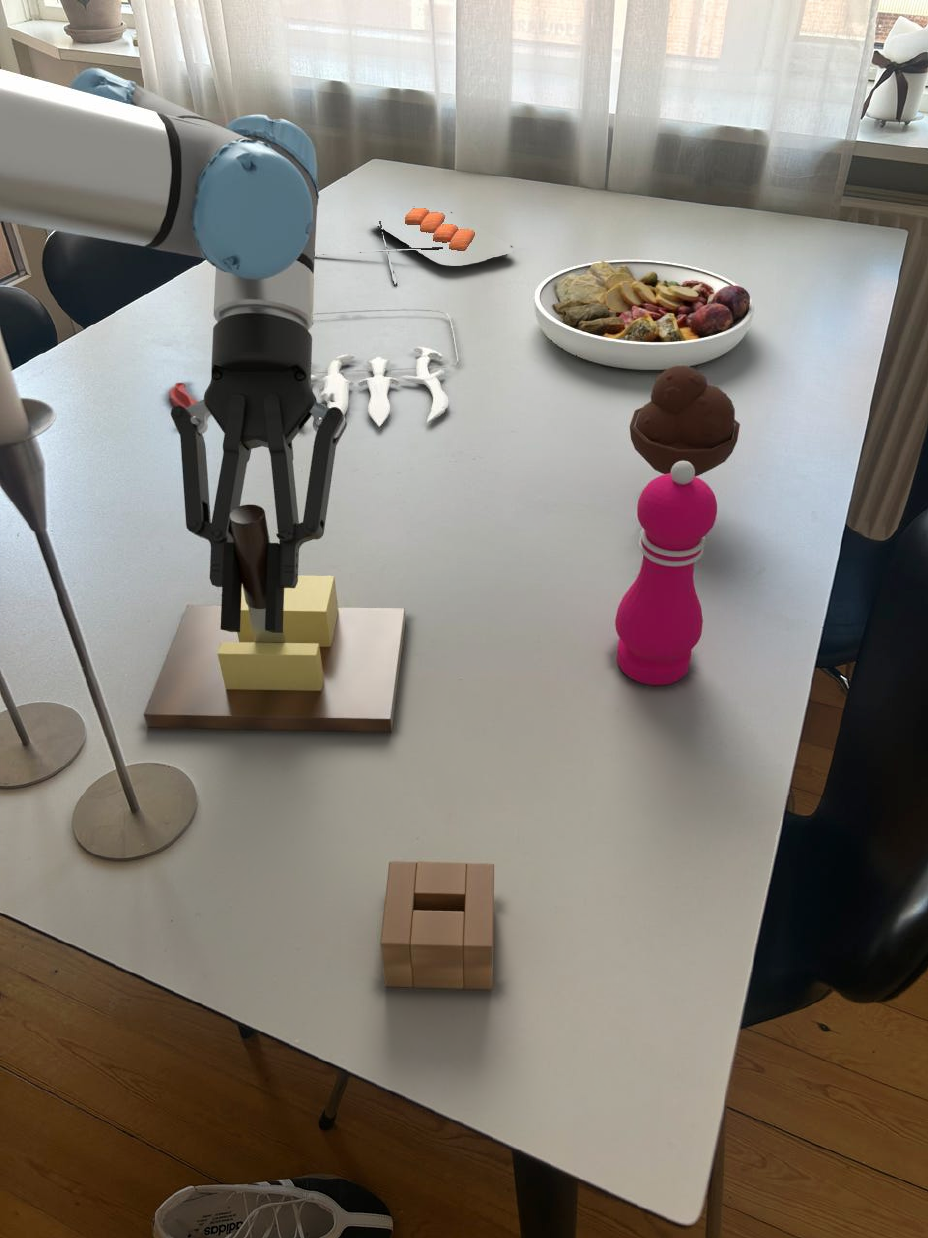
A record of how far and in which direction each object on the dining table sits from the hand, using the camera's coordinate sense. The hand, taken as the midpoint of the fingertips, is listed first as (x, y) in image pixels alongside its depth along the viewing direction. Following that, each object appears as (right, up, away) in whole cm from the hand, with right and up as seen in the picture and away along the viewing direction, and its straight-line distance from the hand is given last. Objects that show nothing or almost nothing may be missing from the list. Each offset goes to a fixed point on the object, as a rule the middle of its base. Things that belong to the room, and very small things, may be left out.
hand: (252, 630), depth 72 cm
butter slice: (0, -5, +8) cm, 9 cm away
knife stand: (+14, -21, -9) cm, 27 cm away
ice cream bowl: (+38, +13, +31) cm, 51 cm away
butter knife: (0, -4, +8) cm, 9 cm away
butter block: (0, 0, +13) cm, 13 cm away
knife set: (+2, +34, +56) cm, 66 cm away
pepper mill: (+32, -3, +12) cm, 35 cm away
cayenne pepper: (-19, +27, +49) cm, 59 cm away
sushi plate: (+5, +63, +90) cm, 110 cm away
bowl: (+41, +41, +64) cm, 87 cm away
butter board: (0, -4, +11) cm, 12 cm away
